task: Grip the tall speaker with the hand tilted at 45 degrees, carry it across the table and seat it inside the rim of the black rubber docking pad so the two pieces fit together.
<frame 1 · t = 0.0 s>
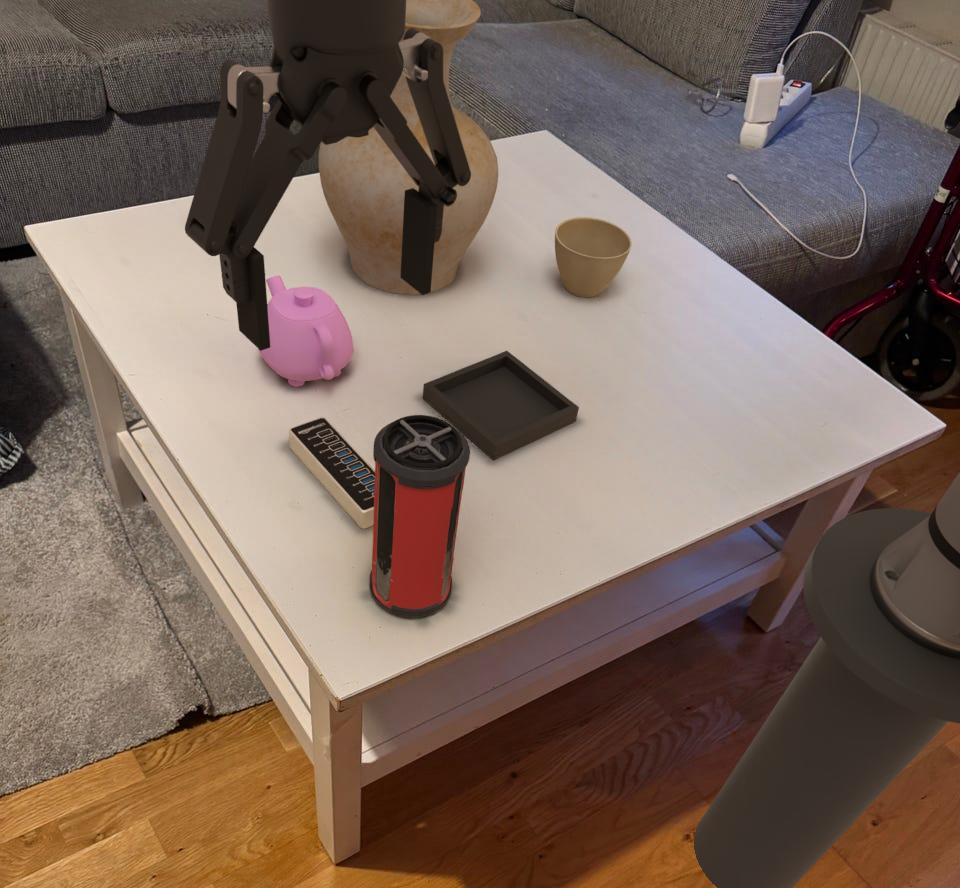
hand: (339, 311, 65), 28 cm above the table, tool pointing down, fingers open, 13 cm apart
vase: (403, 266, 121), on the table
teapot: (302, 362, 106), on the table
speaker: (410, 590, 86), on the table
multiport hub: (342, 480, 95), on the table
flower pot: (582, 288, 123), on the table
dock pad: (499, 410, 105), on the table
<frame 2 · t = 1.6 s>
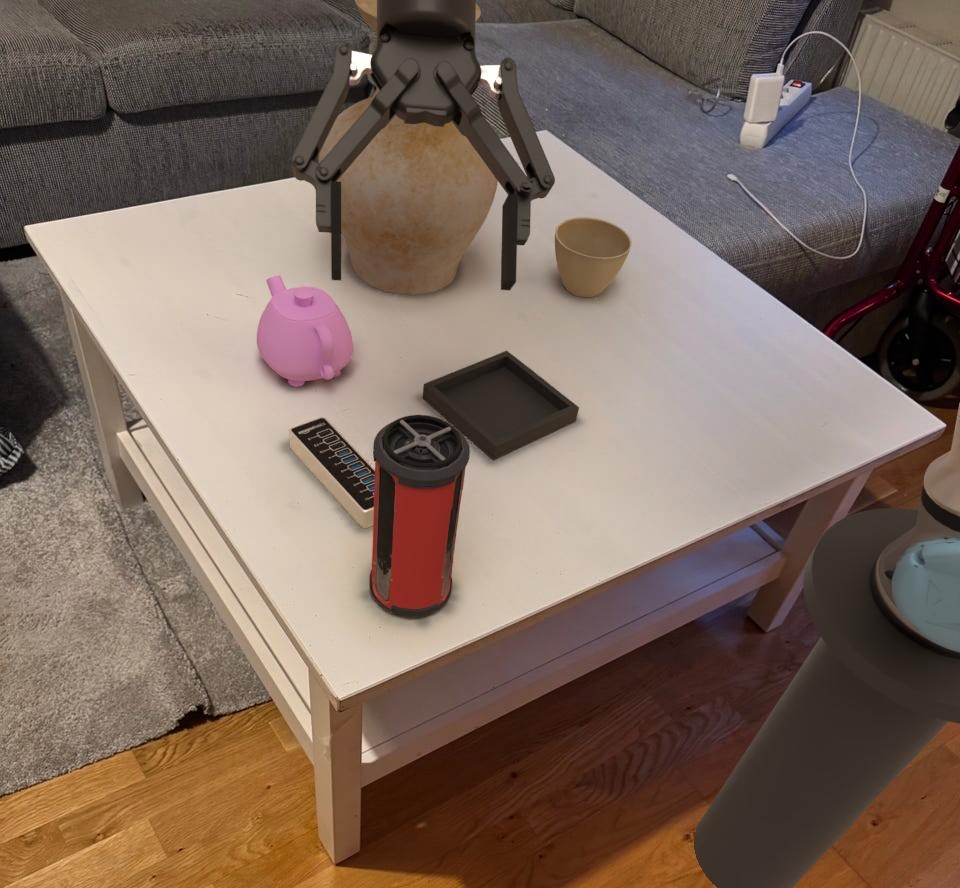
hand: (423, 281, 72), 26 cm above the table, tool tilted 45°, fingers open, 13 cm apart
nothing on the table moved.
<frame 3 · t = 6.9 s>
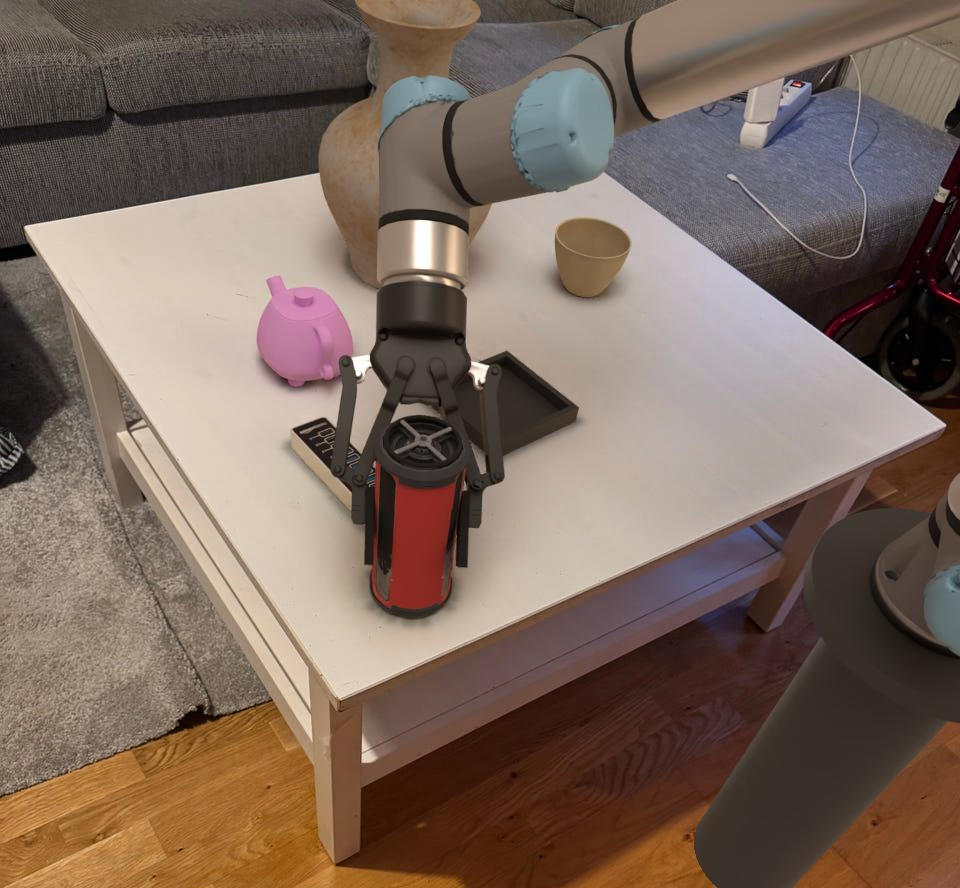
hand: (415, 565, 78), 7 cm above the table, tool tilted 45°, fingers closed on speaker, 7 cm apart
speaker: (410, 590, 86), on the table, touching gripper
everything else where it was.
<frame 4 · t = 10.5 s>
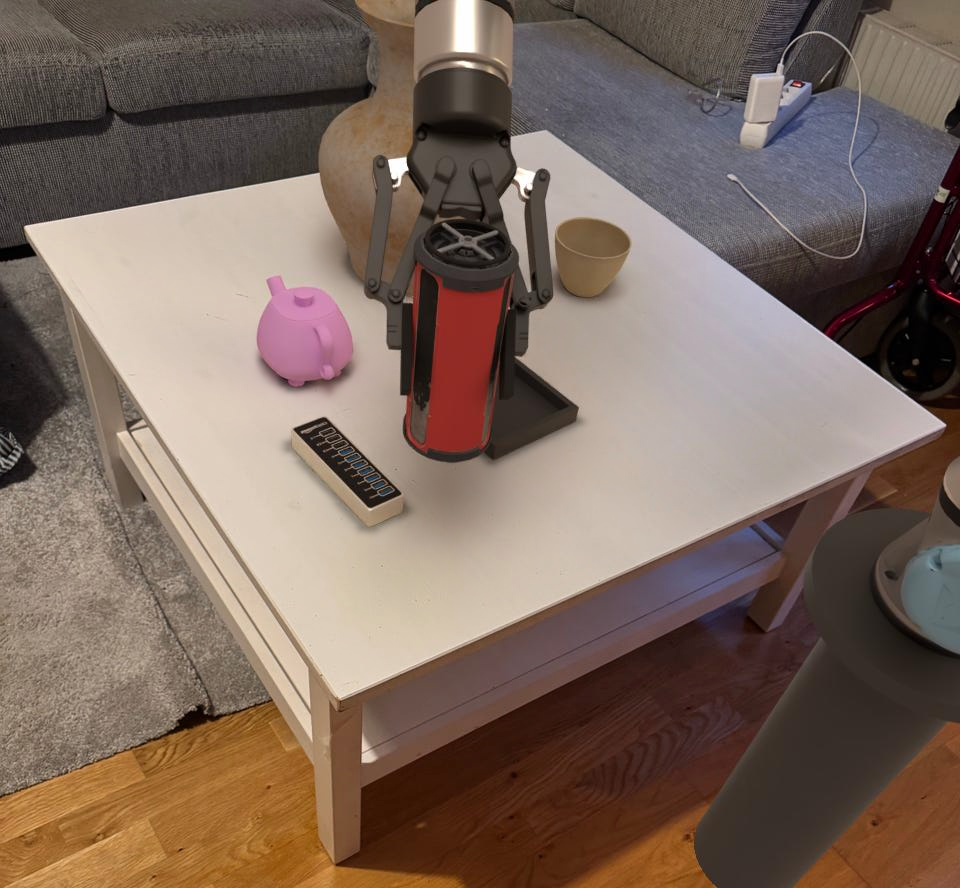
hand: (456, 395, 72), 20 cm above the table, tool tilted 45°, fingers closed on speaker, 7 cm apart
speaker: (446, 438, 80), point 13 cm above the table, touching gripper
everything else where it was.
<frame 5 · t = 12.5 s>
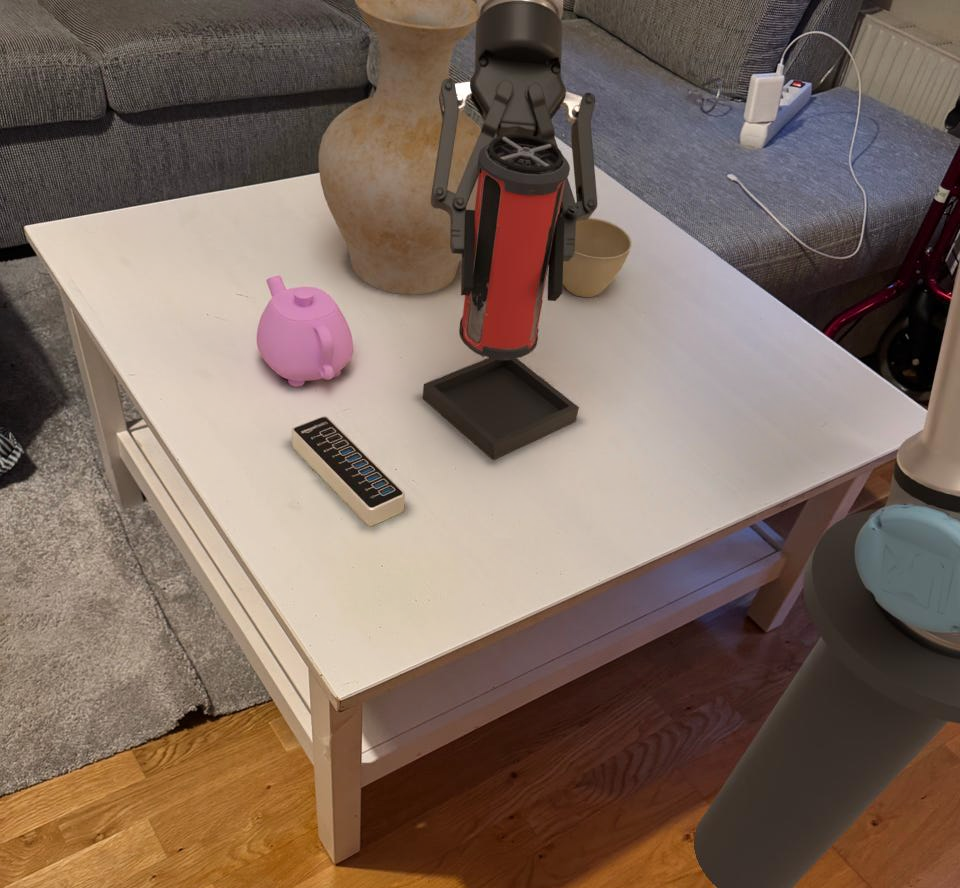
hand: (511, 294, 82), 21 cm above the table, tool tilted 45°, fingers closed on speaker, 7 cm apart
speaker: (497, 341, 90), point 13 cm above the table, touching gripper
everything else where it was.
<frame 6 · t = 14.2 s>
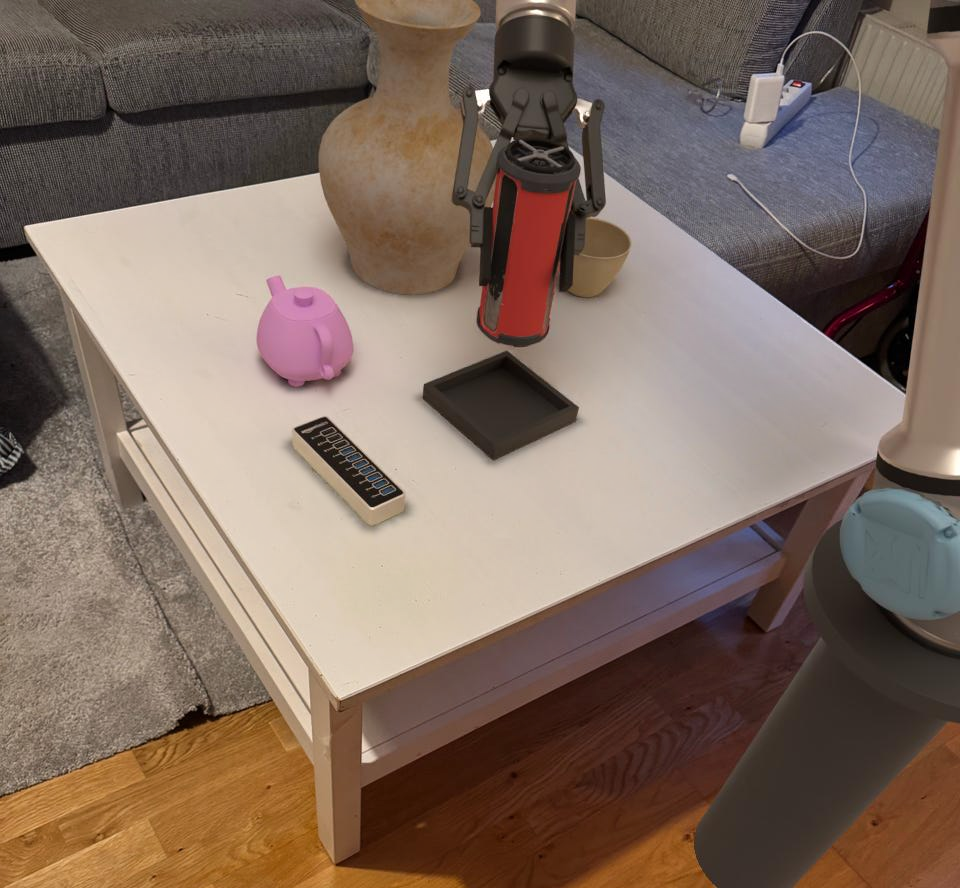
hand: (525, 285, 89), 18 cm above the table, tool tilted 45°, fingers closed on speaker, 7 cm apart
speaker: (511, 329, 96), point 10 cm above the table, touching gripper
everything else where it was.
when the fingers open (8 cm above the table, at t = 17.4 s): speaker stays where it is, resting on dock pad.
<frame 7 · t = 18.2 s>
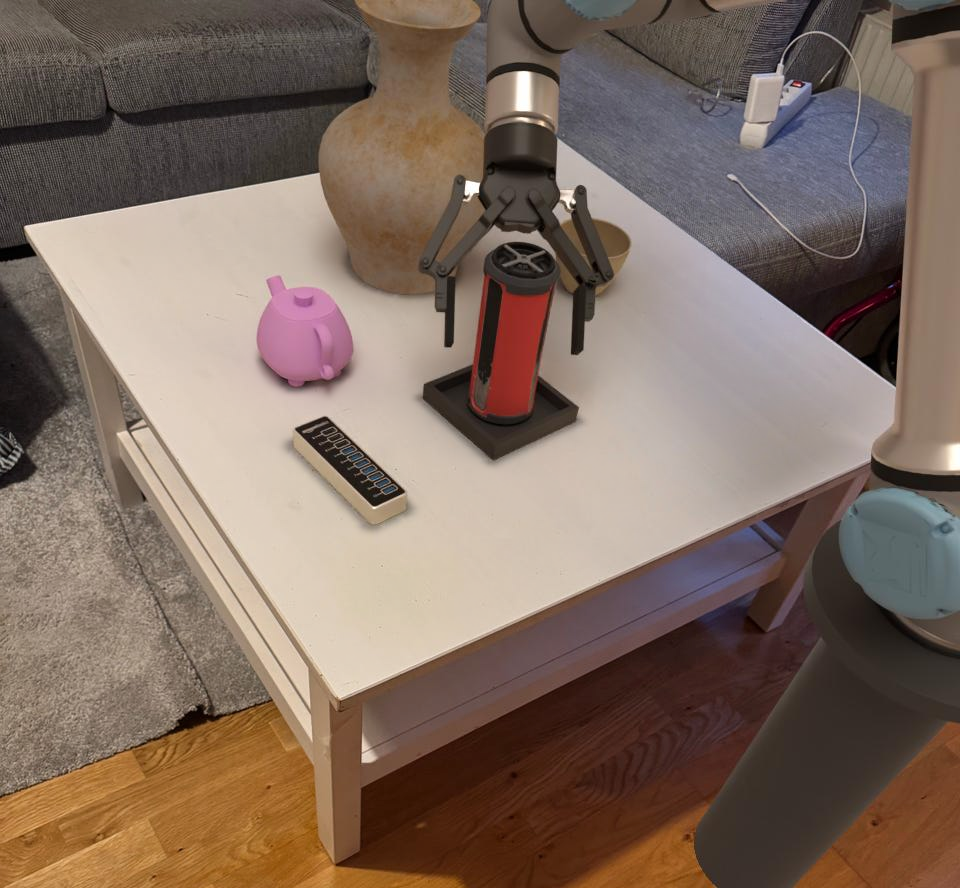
hand: (513, 349, 96), 10 cm above the table, tool tilted 45°, fingers open, 13 cm apart
speaker: (499, 407, 104), resting on dock pad
everything else where it was.
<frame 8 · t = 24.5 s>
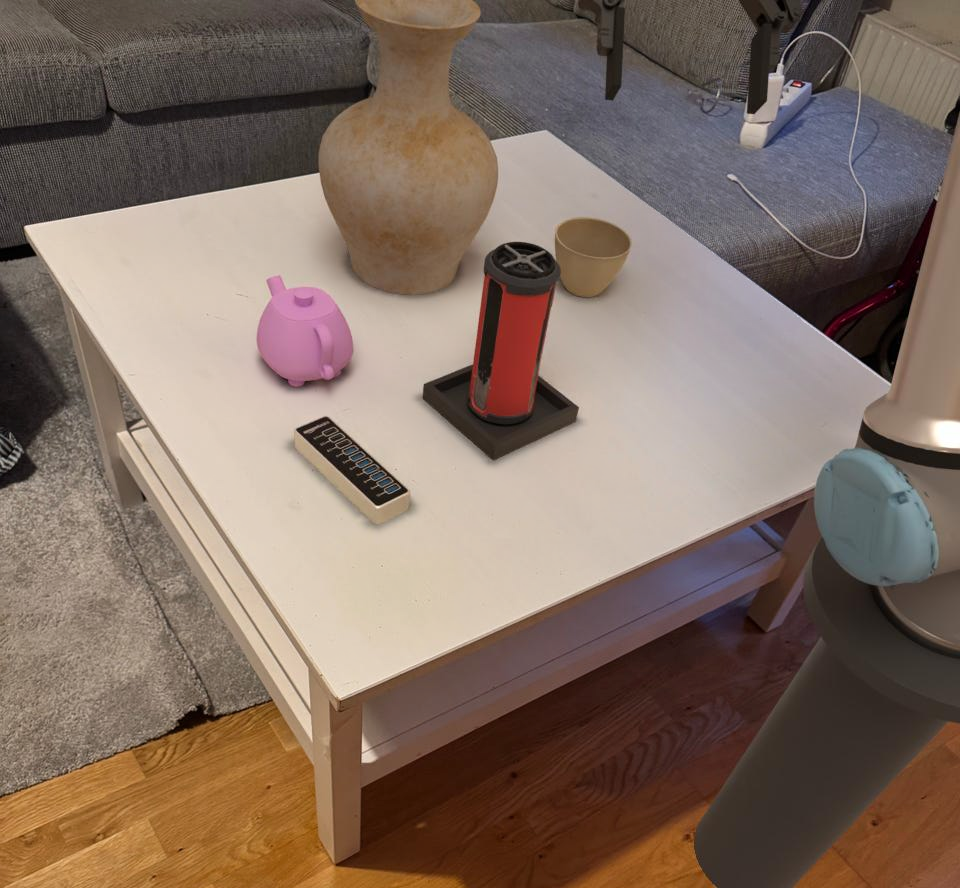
hand: (685, 100, 83), 33 cm above the table, tool tilted 45°, fingers open, 13 cm apart
at the end: speaker 0.1 cm off-centre in the dock pad, point 0.3 cm above the dock pad's base; speaker tilted 0°; the gripper is holding nothing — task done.
